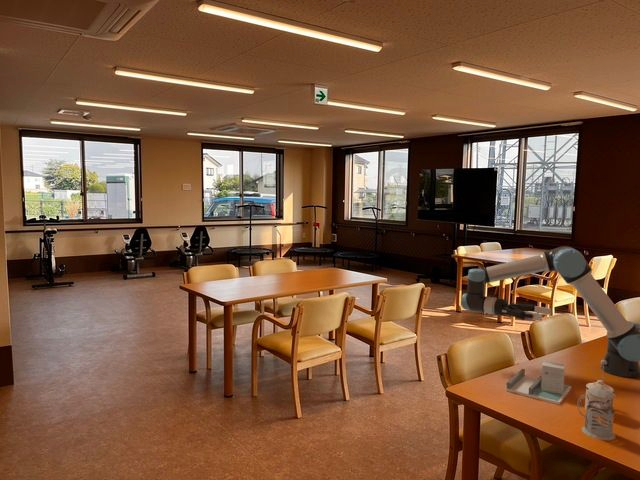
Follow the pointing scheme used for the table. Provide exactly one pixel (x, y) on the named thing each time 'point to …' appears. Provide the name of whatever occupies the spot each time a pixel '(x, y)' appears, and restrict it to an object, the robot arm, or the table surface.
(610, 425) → the french press
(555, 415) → the table surface
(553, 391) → the small box
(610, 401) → the teacup with lid
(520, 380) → the tray
